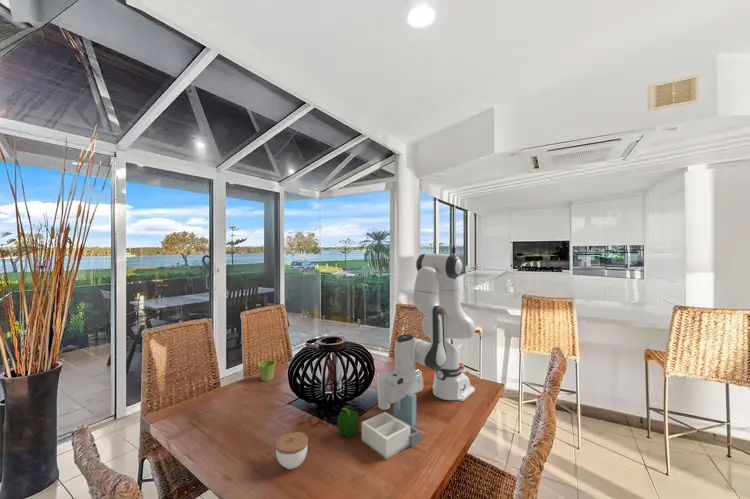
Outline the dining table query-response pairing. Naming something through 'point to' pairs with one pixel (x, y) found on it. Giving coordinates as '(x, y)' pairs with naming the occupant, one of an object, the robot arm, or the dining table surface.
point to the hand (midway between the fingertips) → (404, 406)
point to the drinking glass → (382, 391)
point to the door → (406, 409)
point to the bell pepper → (348, 422)
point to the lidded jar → (291, 449)
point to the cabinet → (389, 434)
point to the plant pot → (266, 369)
